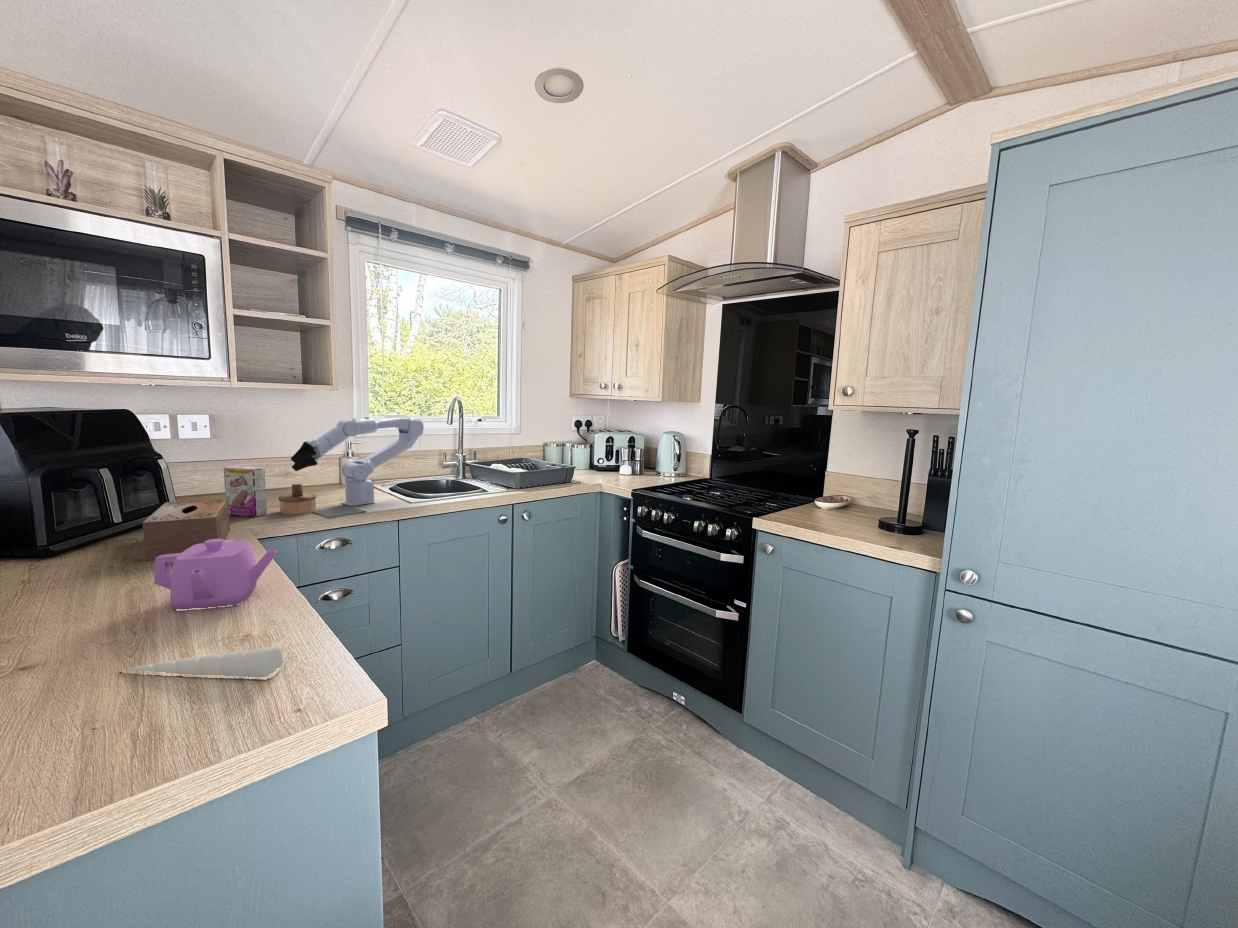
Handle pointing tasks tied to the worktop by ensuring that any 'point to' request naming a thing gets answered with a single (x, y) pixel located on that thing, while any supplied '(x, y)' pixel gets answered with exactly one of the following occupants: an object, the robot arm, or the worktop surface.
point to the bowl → (297, 507)
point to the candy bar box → (245, 490)
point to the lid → (297, 495)
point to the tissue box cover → (184, 526)
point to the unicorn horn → (224, 664)
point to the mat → (339, 511)
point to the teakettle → (211, 573)
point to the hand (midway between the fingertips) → (293, 465)
